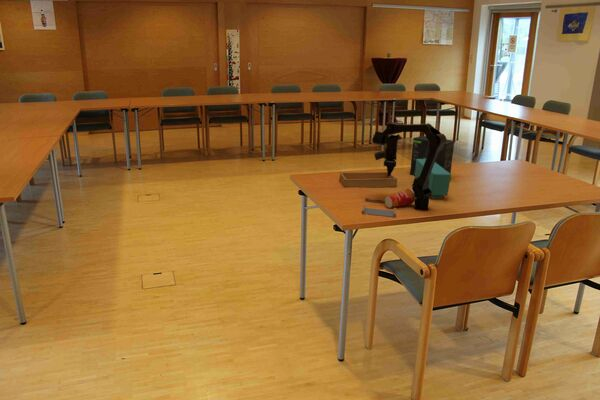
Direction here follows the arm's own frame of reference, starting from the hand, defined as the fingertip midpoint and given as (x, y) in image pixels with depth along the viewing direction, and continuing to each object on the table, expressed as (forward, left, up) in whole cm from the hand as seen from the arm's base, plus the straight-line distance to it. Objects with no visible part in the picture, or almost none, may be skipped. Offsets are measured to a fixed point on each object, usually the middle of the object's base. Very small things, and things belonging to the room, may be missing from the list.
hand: (388, 175), depth 273 cm
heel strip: (+3, +7, -13) cm, 15 cm away
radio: (-24, -23, -13) cm, 36 cm away
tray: (+12, -27, -14) cm, 33 cm away
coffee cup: (-1, +14, -10) cm, 17 cm away
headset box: (-25, -56, -13) cm, 63 cm away
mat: (+3, +23, -13) cm, 27 cm away
